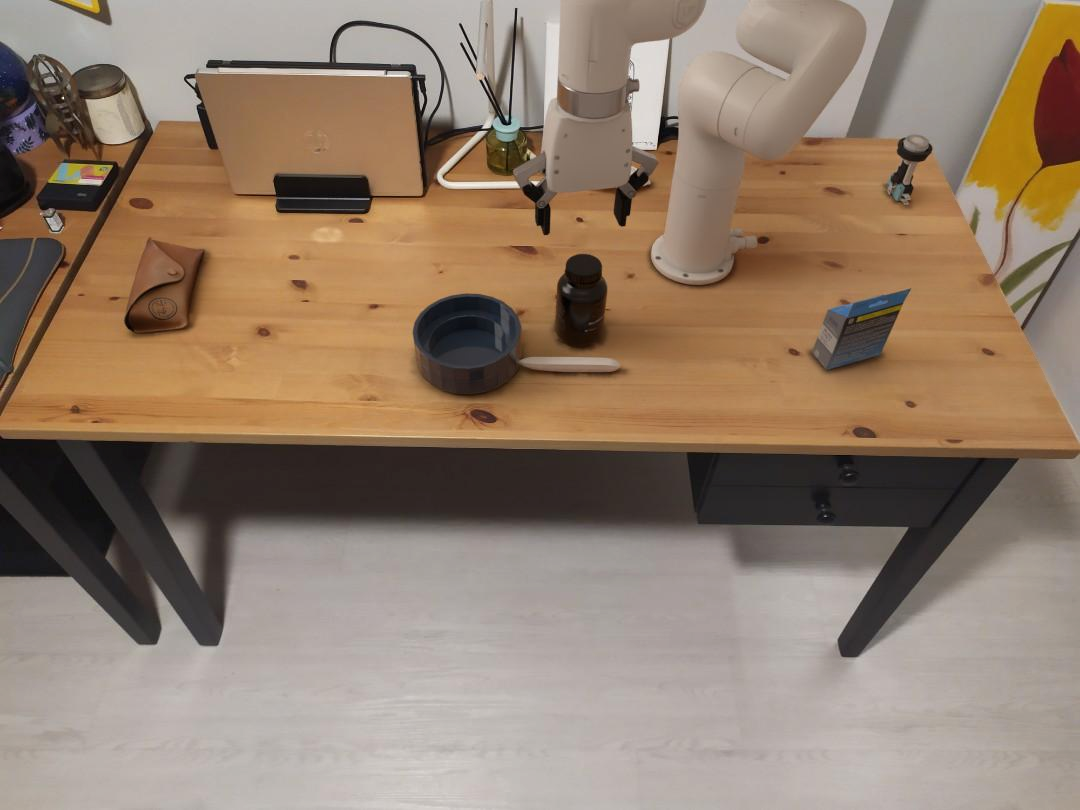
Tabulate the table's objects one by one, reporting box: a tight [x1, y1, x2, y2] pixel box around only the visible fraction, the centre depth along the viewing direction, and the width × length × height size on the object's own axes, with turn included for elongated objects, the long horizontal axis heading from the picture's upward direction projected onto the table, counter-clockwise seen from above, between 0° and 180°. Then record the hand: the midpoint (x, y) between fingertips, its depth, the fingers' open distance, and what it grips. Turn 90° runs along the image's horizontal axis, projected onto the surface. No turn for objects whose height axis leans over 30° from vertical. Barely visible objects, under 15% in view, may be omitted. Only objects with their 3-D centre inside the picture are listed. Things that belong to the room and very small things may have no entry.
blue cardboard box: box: [811, 287, 912, 371], centre depth 107 cm, size 9×4×12 cm, turn 110°
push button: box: [886, 133, 934, 206], centre depth 133 cm, size 7×5×10 cm
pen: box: [519, 356, 621, 373], centre depth 109 cm, size 2×14×2 cm, turn 90°
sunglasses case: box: [123, 237, 205, 334], centre depth 118 cm, size 18×7×7 cm
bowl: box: [412, 293, 523, 395], centre depth 109 cm, size 14×14×6 cm
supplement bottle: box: [554, 253, 608, 348], centre depth 110 cm, size 7×7×12 cm
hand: (582, 224), depth 101 cm, fingers open, 9 cm apart
